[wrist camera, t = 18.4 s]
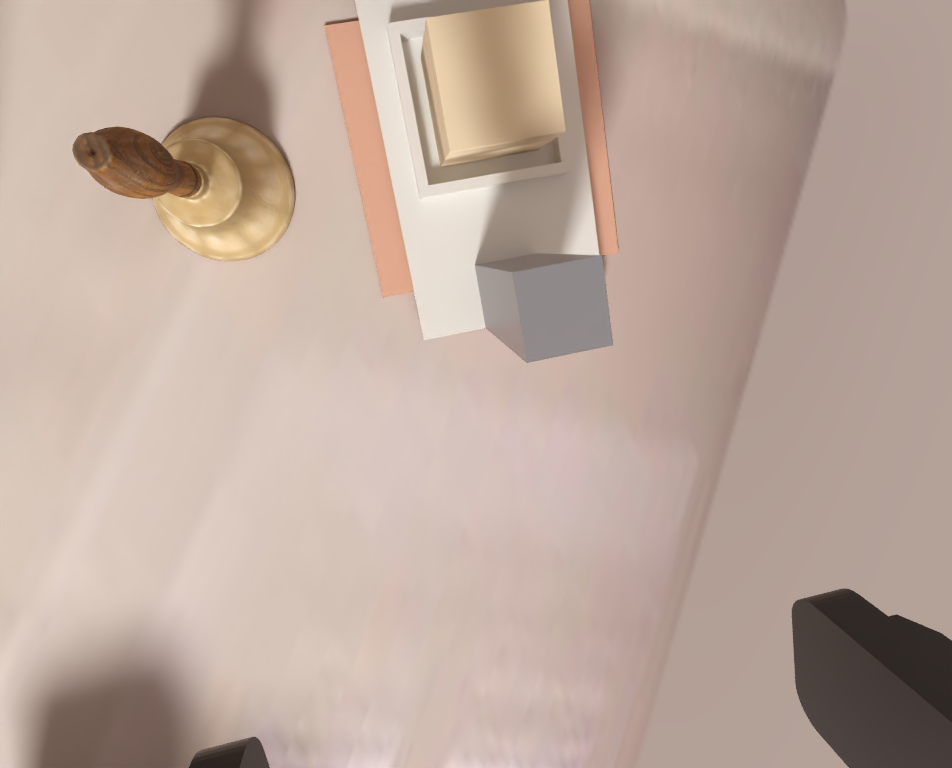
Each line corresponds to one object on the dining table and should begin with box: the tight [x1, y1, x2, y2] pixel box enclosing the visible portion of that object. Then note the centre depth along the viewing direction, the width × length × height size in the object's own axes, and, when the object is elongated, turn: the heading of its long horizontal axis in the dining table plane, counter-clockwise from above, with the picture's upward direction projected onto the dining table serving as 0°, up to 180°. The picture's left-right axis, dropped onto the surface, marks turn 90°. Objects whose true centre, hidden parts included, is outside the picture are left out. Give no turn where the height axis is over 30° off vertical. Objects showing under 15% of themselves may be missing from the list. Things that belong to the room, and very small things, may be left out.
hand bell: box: [73, 117, 295, 261], centre depth 28 cm, size 8×8×16 cm
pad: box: [324, 0, 619, 297], centre depth 37 cm, size 16×16×1 cm
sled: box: [355, 0, 613, 363], centre depth 30 cm, size 12×20×14 cm, turn 10°
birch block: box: [421, 0, 566, 167], centre depth 32 cm, size 6×6×6 cm
